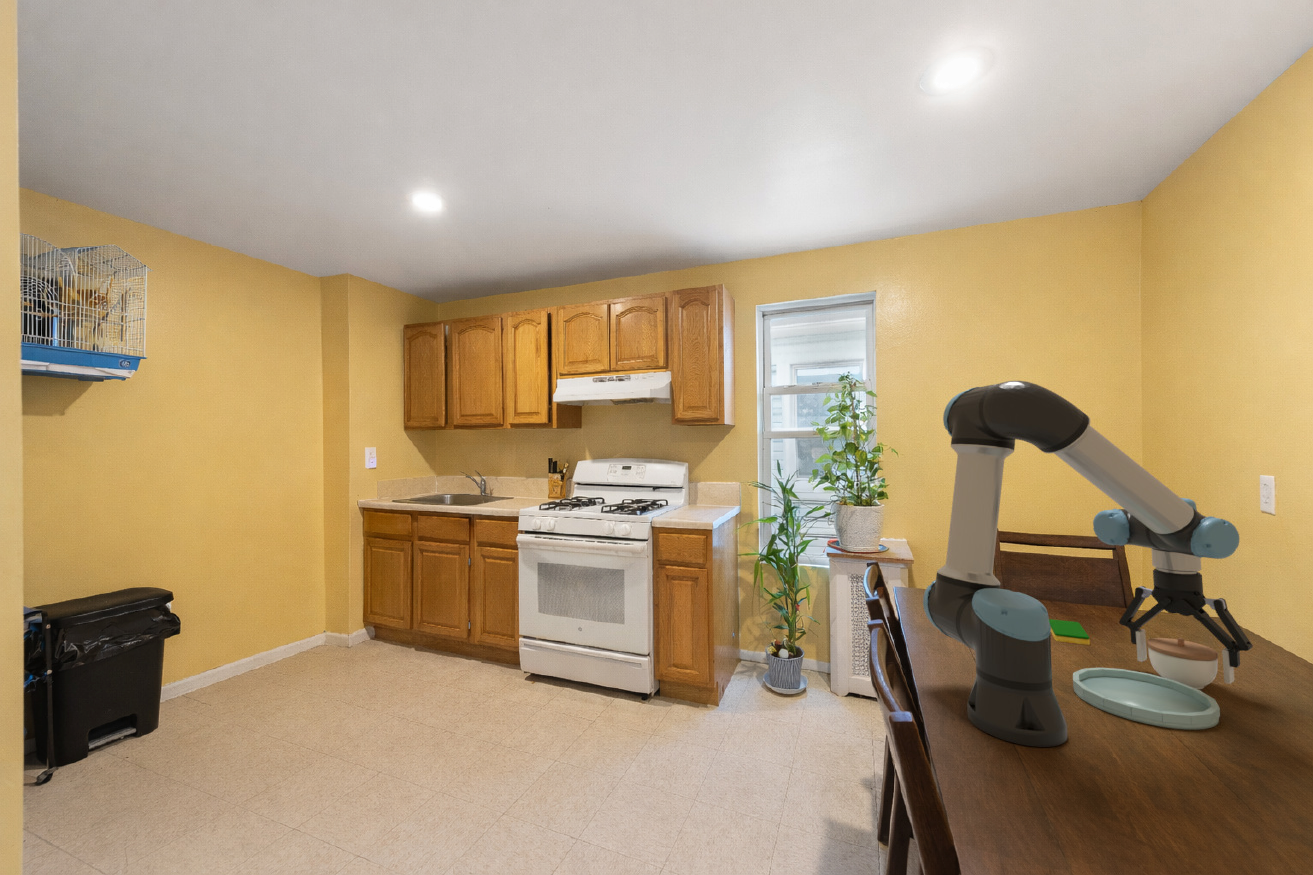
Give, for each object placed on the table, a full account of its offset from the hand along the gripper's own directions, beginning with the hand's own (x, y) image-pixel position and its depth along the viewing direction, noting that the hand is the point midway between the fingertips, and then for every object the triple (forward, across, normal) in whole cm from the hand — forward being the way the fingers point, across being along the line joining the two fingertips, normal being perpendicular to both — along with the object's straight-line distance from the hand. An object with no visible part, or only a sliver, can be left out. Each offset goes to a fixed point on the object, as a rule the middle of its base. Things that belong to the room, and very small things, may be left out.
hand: (1183, 670), depth 112 cm
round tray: (+2, +1, +18) cm, 18 cm away
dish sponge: (+3, +27, -14) cm, 31 cm away
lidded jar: (+3, 0, 0) cm, 3 cm away
